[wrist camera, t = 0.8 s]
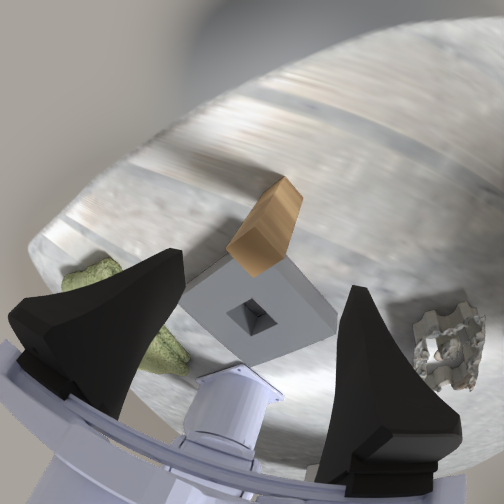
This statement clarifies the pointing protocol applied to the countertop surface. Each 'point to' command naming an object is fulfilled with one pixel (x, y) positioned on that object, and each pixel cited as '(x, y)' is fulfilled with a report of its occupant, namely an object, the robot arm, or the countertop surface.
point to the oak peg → (267, 229)
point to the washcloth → (163, 345)
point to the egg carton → (450, 347)
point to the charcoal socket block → (266, 296)
